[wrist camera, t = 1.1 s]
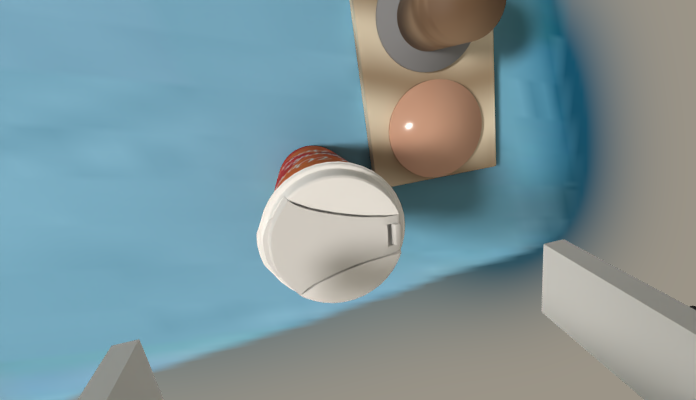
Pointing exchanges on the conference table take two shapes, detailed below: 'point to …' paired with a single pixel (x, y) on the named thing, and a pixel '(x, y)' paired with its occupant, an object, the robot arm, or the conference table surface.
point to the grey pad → (405, 52)
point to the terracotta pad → (435, 128)
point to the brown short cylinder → (446, 21)
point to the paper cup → (330, 227)
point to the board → (394, 81)
